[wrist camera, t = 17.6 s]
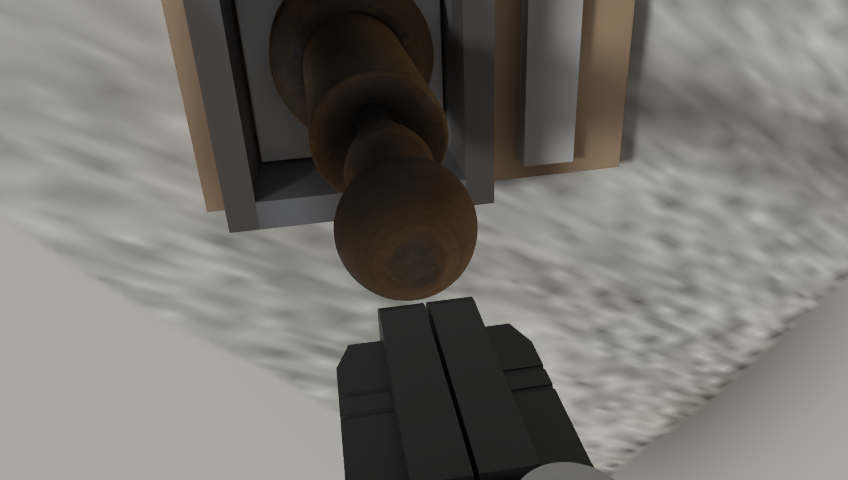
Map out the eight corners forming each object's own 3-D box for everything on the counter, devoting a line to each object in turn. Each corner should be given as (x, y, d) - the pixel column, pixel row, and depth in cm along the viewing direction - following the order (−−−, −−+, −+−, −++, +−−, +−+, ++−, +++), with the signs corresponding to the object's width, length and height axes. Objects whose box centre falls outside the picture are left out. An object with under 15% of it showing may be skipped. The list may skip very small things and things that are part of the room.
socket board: (634, -156, 29) (709, -161, 24) (606, 155, 36) (660, 205, 31) (140, -132, 27) (103, -131, 21) (210, 198, 33) (195, 259, 28)
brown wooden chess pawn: (441, 101, 31) (594, 344, 15) (300, 142, 31) (309, 431, 15) (403, -56, 27) (550, 48, 12) (245, -11, 27) (183, 155, 12)
